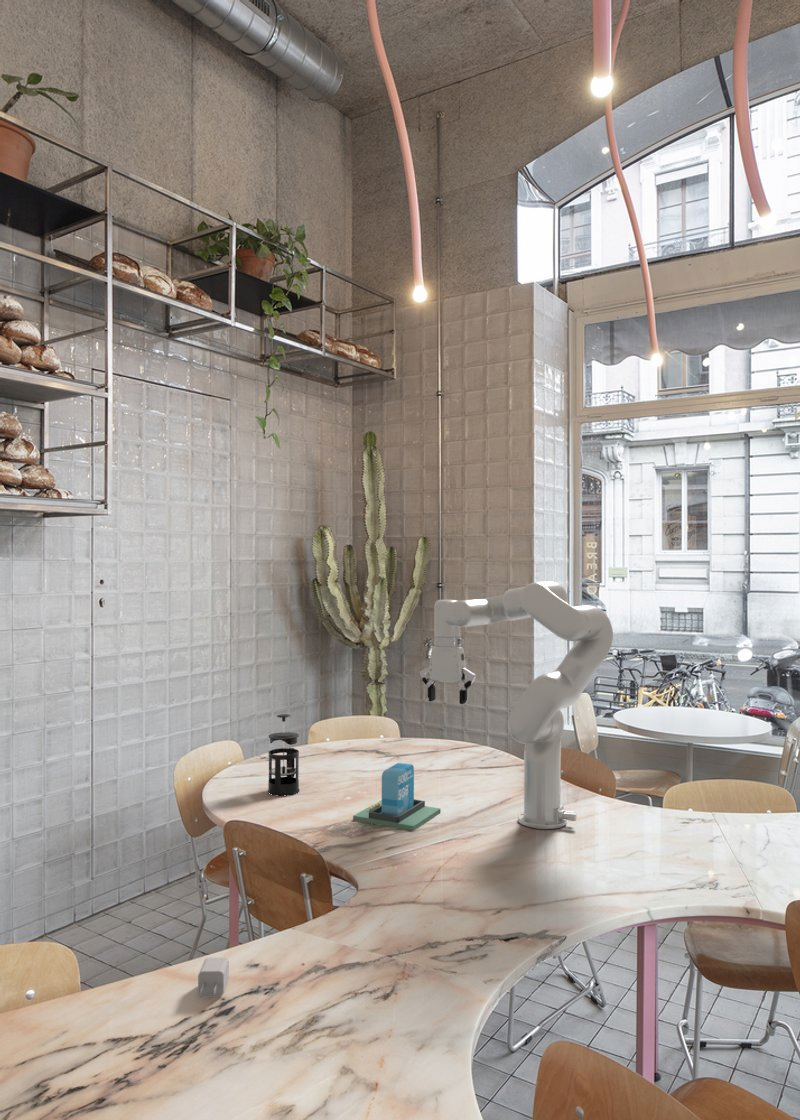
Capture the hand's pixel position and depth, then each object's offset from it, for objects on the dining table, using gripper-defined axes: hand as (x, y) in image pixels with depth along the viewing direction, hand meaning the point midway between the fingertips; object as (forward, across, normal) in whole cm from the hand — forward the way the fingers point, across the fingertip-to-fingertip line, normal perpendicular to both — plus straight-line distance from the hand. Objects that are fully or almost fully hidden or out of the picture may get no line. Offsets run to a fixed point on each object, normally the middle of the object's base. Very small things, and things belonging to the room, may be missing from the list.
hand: (447, 702), depth 229 cm
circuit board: (+28, +6, +20) cm, 35 cm away
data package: (+27, +6, +19) cm, 34 cm away
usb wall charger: (+29, -9, +111) cm, 115 cm away
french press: (+28, +47, +14) cm, 57 cm away
